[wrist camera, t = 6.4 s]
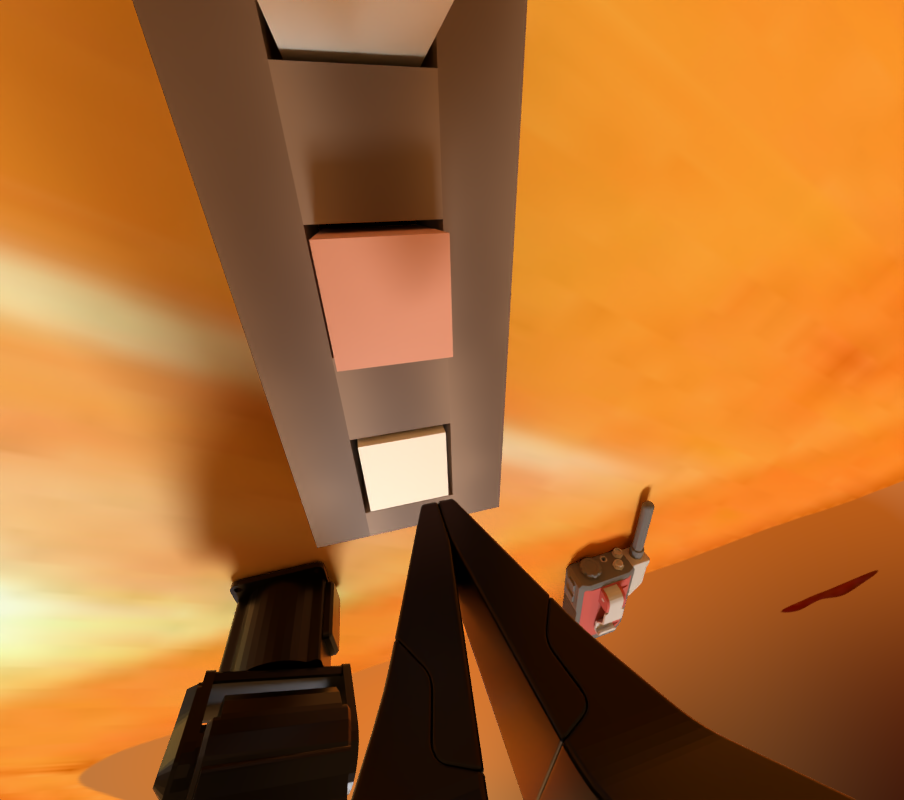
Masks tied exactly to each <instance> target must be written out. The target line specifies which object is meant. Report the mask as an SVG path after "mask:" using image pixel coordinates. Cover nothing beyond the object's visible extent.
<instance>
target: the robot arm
mask: <svg viewBox="0 0 904 800" xmlns="http://www.w3.org/2000/svg"><path fill="white" fill-rule="evenodd" d="M230 592H231V594H232V595H233V597H234V599H235V601H236V602H237V608H236V612H235V615H234V619H233V622H232V626H231V629H230V633H229V637H228V640H227V644H226V647H225V651H224V655H223V658H222V662H221V665H220V669H219V672H216V671H217V670H210V671H206V674H205V677H204V681H203V682H202V683H199V684H197V685H195V686H193V687H191V688H189V689H187V691H186V694H185V697H184V700H183V703H182V706H181V709H180V712H179V715H178V718H177V721H176V724H175V727H174V730H173V732H172V735H171V738H170V741H169V744H168V746H167V749H166V752H165V755H164V757H163V760H162V763H161V766H160V769H159V772H158V774H157V778H156V780H155V783H154V786H153V790H154V792H155V794H156V795H157V797H158V799H159V800H347V795H348V794H349V793H350V790H351V788H352V785H353V782H354V778H355V773H356V767H357V759H358V745H359V734H358V733H359V732H358V731H359V730H358V720H357V712H356V705H355V697H354V690H353V682H352V675H351V667H350V664H342V665H341V666H331V656H333V655H336V654H337V652H338V651H339V626H340V599H339V595H338V592H337V589H336V586H335V583H334V582H332V581H330V580H329V577H328V574H327V571H326V568H325V565H324V564H323V563H322V562H315V563H311V564H307V565H302V566H298V567H294V568H290V569H285V570H281V571H277V572H273V573H268V574H264V575H260V576H256V577H251V578H247V579H243V580H239V581H235V582H234V583H232V585H231V589H230ZM462 620H463V623H464V626H465V629H466V632H467V635H468V638H469V641H470V644H471V647H472V650H473V653H474V656H475V659H476V661H477V664H478V667H479V670H480V673H481V676H482V679H483V682H484V685H485V688H486V691H487V694H488V696H489V700H490V703H491V705H492V708H493V711H494V714H495V717H496V720H497V723H498V726H499V729H500V732H501V735H502V738H503V740H504V744H505V747H506V749H507V753H508V755H509V758H510V761H511V764H512V767H513V770H514V773H515V776H516V779H517V782H518V785H519V788H520V791H521V794H522V796H523V800H856V799H854V798H852V797H849V796H847V795H845V794H843V793H841V792H839V791H837V790H835V789H833V788H831V787H829V786H826V785H824V784H822V783H820V782H818V781H816V780H814V779H812V778H810V777H807V776H805V775H803V774H801V773H799V772H797V771H795V770H793V769H791V768H789V767H787V766H784V765H782V764H780V763H778V762H776V761H774V760H772V759H770V758H767V757H766V756H763V755H761V754H759V753H757V752H755V751H753V750H751V749H749V748H747V747H744V746H742V745H740V744H738V743H736V742H734V741H732V740H730V739H728V738H726V737H724V736H722V735H720V734H718V733H716V732H714V731H712V730H711V729H709V728H707V727H705V726H704V725H702V724H700V723H699V722H698V721H696V720H695V719H693V718H692V717H690V716H689V715H687V714H686V713H685V712H683V711H682V710H680V709H679V708H678V707H676V706H675V705H674V704H673V703H672V702H670V701H669V700H668V699H667V698H666V697H664V696H663V695H662V694H661V693H660V692H658V691H657V690H656V689H655V688H654V687H652V686H651V685H650V684H649V683H648V682H646V681H645V680H644V679H643V678H642V677H640V676H639V675H638V674H636V673H635V672H634V671H633V670H632V669H631V668H629V667H628V666H627V665H626V664H625V663H623V662H622V661H621V660H620V659H618V658H617V657H616V656H615V655H614V654H613V653H611V652H610V651H609V650H608V649H607V648H606V647H604V646H603V645H602V644H601V643H600V642H599V641H597V640H596V639H595V638H594V637H593V636H592V635H590V634H589V633H588V632H587V631H586V630H585V629H584V628H583V627H582V626H581V625H580V624H578V623H577V622H576V621H575V620H574V619H573V618H572V617H571V616H570V615H569V614H568V613H567V612H566V611H565V610H564V609H563V608H562V607H561V606H560V605H559V604H558V603H557V602H556V601H555V600H554V599H553V598H549V594H548V593H547V592H546V591H545V590H544V589H543V588H542V587H541V586H540V585H539V584H538V583H537V582H536V581H535V580H534V579H533V578H532V577H531V576H530V575H529V574H528V573H527V572H526V571H525V570H524V569H523V568H522V567H521V566H520V565H519V564H518V563H517V562H516V561H515V560H514V559H513V558H512V557H511V556H510V555H509V554H508V553H507V552H506V551H505V550H504V549H503V548H502V547H501V546H500V545H499V544H498V543H497V542H496V541H495V540H494V539H493V538H492V537H491V536H490V535H489V534H488V533H487V532H486V531H485V530H484V529H483V528H482V527H481V526H480V525H479V524H478V523H477V522H476V521H475V520H474V519H473V518H472V517H471V516H470V515H469V514H468V513H467V512H466V511H465V510H464V509H463V508H462V507H461V506H460V505H459V504H458V503H457V502H456V501H455V500H454V499H446V500H441V501H439V502H438V504H437V502H431V503H426V504H423V505H422V506H421V509H420V514H419V519H418V524H417V529H416V535H415V540H414V545H413V550H412V555H411V560H410V565H409V570H408V575H407V581H406V586H405V591H404V596H403V601H402V606H401V611H400V616H399V621H398V626H397V631H396V637H395V639H396V641H395V642H394V646H393V651H392V656H391V661H390V665H389V670H388V674H387V679H386V683H385V687H384V692H383V696H382V699H381V703H380V706H379V710H378V713H377V717H376V721H375V724H374V728H373V731H372V734H371V737H370V741H369V744H368V747H367V750H366V754H365V757H364V760H363V764H362V767H361V770H360V773H359V776H358V780H357V783H356V786H355V789H354V792H353V796H352V799H351V800H488V796H487V789H486V782H485V776H484V774H483V770H484V768H483V761H482V755H481V748H480V741H479V734H478V727H477V721H476V713H475V706H474V700H473V692H472V686H471V679H470V672H469V665H468V658H467V651H466V644H465V637H464V630H463V623H462ZM202 723H207V725H202Z"/></svg>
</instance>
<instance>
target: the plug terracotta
mask: <svg viewBox="0 0 904 800" xmlns="http://www.w3.org/2000/svg"><path fill="white" fill-rule="evenodd" d="M309 242H310V246H311V251H312V256H313V260H314V265H315V270H316V275H317V279H318V284H319V289H320V293H321V298H322V303H323V308H324V312H325V317H326V322H327V326H328V331H329V336H330V341H331V345H332V350H333V355H334V359H335V364H336V369H337V372H339V371H347V370H355V369H363V368H370V367H378V366H386V365H394V364H402V363H410V362H418V361H425V360H433V359H441V358H449V357H453V336H452V300H451V264H450V233H448V232H444V231H440V230H437V229H433V228H429V227H425V226H421V225H417V224H415V225H392V226H369V227H347V228H324V229H321V230H320V231H319V232H318V233H317V234H316V235H314V236H313V237H312V238H311V239H310V240H309Z"/></svg>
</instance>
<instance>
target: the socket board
mask: <svg viewBox="0 0 904 800" xmlns="http://www.w3.org/2000/svg"><path fill="white" fill-rule="evenodd" d="M132 1H133V4H134V7H135V10H136V13H137V16H138V19H139V22H140V24H141V27H142V30H143V33H144V36H145V39H146V42H147V45H148V48H149V51H150V54H151V57H152V60H153V63H154V66H155V69H156V72H157V75H158V78H159V81H160V84H161V87H162V90H163V93H164V96H165V99H166V101H167V104H168V107H169V110H170V113H171V116H172V119H173V122H174V125H175V128H176V131H177V134H178V137H179V140H180V143H181V146H182V149H183V152H184V155H185V158H186V161H187V164H188V167H189V170H190V173H191V176H192V178H193V181H194V184H195V187H196V190H197V193H198V196H199V199H200V202H201V205H202V208H203V211H204V214H205V217H206V220H207V223H208V226H209V229H210V232H211V235H212V238H213V241H214V244H215V247H216V250H217V253H218V256H219V258H220V261H221V264H222V267H223V270H224V273H225V276H226V279H227V282H228V285H229V288H230V291H231V294H232V297H233V300H234V303H235V306H236V309H237V312H238V315H239V318H240V321H241V324H242V327H243V330H244V333H245V335H246V338H247V341H248V344H249V347H250V350H251V353H252V356H253V359H254V362H255V365H256V368H257V371H258V374H259V377H260V380H261V383H262V386H263V389H264V392H265V395H266V398H267V401H268V404H269V407H270V410H271V412H272V415H273V418H274V421H275V424H276V427H277V430H278V433H279V436H280V439H281V442H282V445H283V448H284V451H285V454H286V457H287V460H288V463H289V466H290V469H291V472H292V475H293V478H294V481H295V484H296V487H297V490H298V492H299V495H300V498H301V501H302V504H303V507H304V510H305V513H306V516H307V519H308V522H309V525H310V528H311V531H312V534H313V537H314V540H315V543H316V546H317V548H319V547H324V546H328V545H332V544H337V543H341V542H346V541H350V540H355V539H359V538H363V537H368V536H372V535H377V534H381V533H385V532H390V531H394V530H399V529H403V528H407V527H412V526H416V525H417V524H418V519H419V514H420V509H421V506H422V505H423V504H426V503H431V502H437V504H438V502H439V501H441V500H446V499H454V500H455V501H456V502H457V503H458V504H459V505H460V506H461V507H462V508H463V509H464V510H465V511H466V512H467V513H468V514H469V513H474V512H478V511H482V510H487V509H491V508H496V507H499V497H500V479H501V461H502V443H503V425H504V407H505V390H506V372H507V354H508V336H509V318H510V300H511V282H512V264H513V247H514V229H515V211H516V193H517V175H518V157H519V139H520V121H521V104H522V86H523V68H524V50H525V32H526V14H527V0H454V2H453V4H452V6H451V7H450V9H449V11H448V13H447V15H446V17H445V19H444V21H443V23H442V25H441V27H440V29H439V31H438V33H437V35H436V37H435V39H434V41H433V43H432V45H431V46H430V48H429V50H428V52H427V54H426V56H425V58H424V60H423V62H422V64H421V66H420V67H405V66H386V65H366V64H347V63H328V62H308V61H289V60H283V58H282V55H281V53H280V51H279V49H278V46H277V44H276V42H275V40H274V37H273V35H272V33H271V31H270V28H269V26H268V24H267V22H266V19H265V17H264V15H263V13H262V10H261V8H260V6H259V3H258V1H257V0H132ZM409 220H415V223H416V224H417V225H421V226H425V227H429V228H433V229H437V230H440V231H444V232H448V233H450V264H451V300H452V336H453V357H449V358H441V359H433V360H425V361H418V362H410V363H402V364H394V365H386V366H378V367H370V368H363V369H355V370H347V371H339V372H337V369H336V364H335V359H334V355H333V350H332V345H331V341H330V336H329V331H328V326H327V322H326V317H325V312H324V308H323V303H322V298H321V293H320V289H319V284H318V279H317V275H316V270H315V265H314V260H313V256H312V251H311V246H310V242H309V240H310V239H311V238H312V237H313V236H314V235H316V234H317V233H318V232H319V231H320V229H319V224H336V223H360V222H384V221H409ZM437 425H443V427H444V430H445V432H446V451H447V474H448V495H447V496H442V497H437V498H433V499H428V500H423V501H419V502H414V503H409V504H404V505H400V506H395V507H390V508H386V509H381V510H376V511H371V510H370V505H369V500H368V495H367V490H366V485H365V480H364V475H363V470H362V466H361V461H360V456H359V451H358V439H359V438H365V437H371V436H377V435H383V434H389V433H395V432H401V431H407V430H413V429H419V428H425V427H431V426H437Z"/></svg>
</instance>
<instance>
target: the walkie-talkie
mask: <svg viewBox="0 0 904 800" xmlns="http://www.w3.org/2000/svg"><path fill="white" fill-rule="evenodd" d="M653 510H654V504H653V503H652V502H650V501H645V502H643V503H642V506H641V511H640V515H639V519H638V523H637V527H636V531H635V535H634V539H633V543H631V545H630V547H629V548H626V549H623V550H621V549H620V548H614V550H613V551H610V552H607V553H604V554H601V555H598V556H595V557H592V558H588V557H586V558H584V559H582V560H581V561H580V562H577V563H574V564H571V565H569V566H568V567H567V569H566V579H565V589H564V592H565V593H564V595H565V596H564V599H563V600H564V601H563V606H562V607H563V609H564V610H565V611H566V612H567V613H568V614H569V615H570V616H571V617H572V618H573V619H574V620H575V621H576V622H577V623H578V624H580V625H581V626H582V627H583V628H584V629H585V630H586V631H587V632H588V633H589V634H590V635H592V636H593V637H594V638H597V637H600V636H602V635H605V634H607V633H610V632H613V631H614V630H615V629H616V627H617V626H618V624H619V623H620V622H621V619H622V614H623V611H624V607H625V604H626V599H627V596H628V595H630V594H631V593H632V592H633V591H634V590H635V589H636V588H637V587H638V586H639V585H640V584H641V582H642V580H643V576H644V573H645V570H646V566H647V565H648V564H649V561H650V558H649V557H648V556H647V555H646V554H645V552H644V543H645V539H646V536H647V532H648V528H649V525H650V521H651V517H652V514H653Z"/></svg>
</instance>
